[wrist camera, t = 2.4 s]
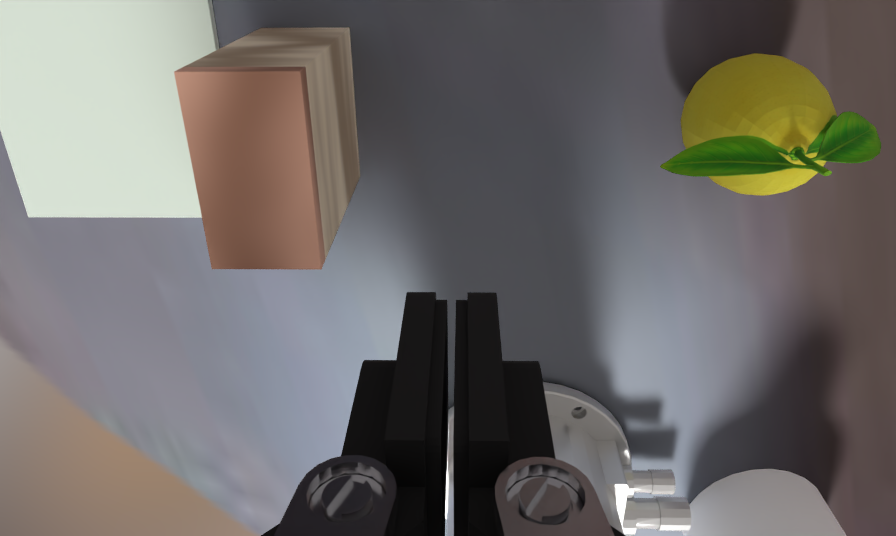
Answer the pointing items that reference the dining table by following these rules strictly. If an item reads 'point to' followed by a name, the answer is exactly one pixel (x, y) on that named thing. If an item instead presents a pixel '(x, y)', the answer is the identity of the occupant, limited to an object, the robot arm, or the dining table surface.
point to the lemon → (766, 127)
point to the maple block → (272, 145)
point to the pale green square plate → (100, 104)
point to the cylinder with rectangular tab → (762, 507)
